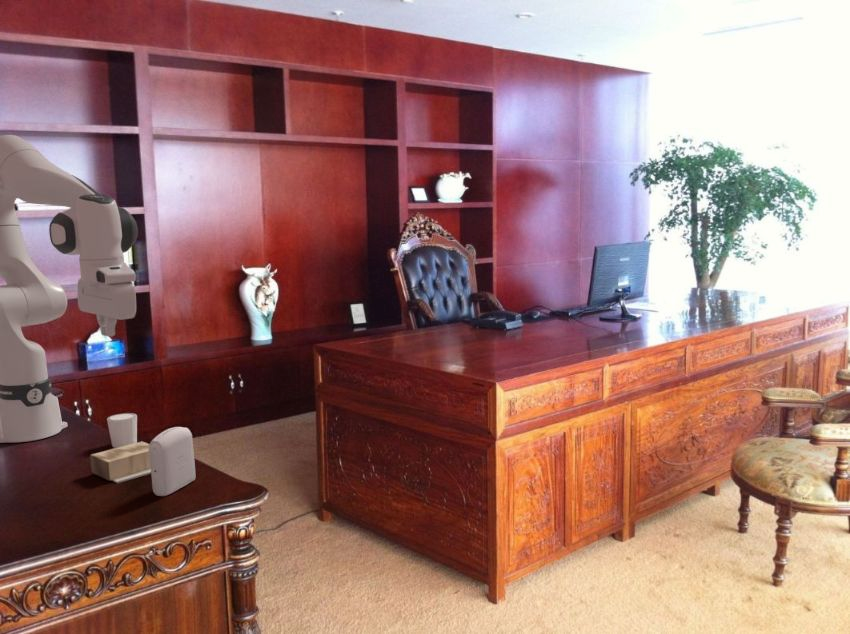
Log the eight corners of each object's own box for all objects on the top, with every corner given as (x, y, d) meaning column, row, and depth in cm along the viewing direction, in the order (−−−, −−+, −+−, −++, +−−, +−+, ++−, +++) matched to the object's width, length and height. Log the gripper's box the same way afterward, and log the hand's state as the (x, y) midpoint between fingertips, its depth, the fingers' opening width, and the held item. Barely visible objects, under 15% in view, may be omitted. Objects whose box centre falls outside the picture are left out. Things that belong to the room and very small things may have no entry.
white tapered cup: (115, 450, 192) (112, 422, 191) (105, 444, 197) (102, 416, 196) (144, 444, 196) (141, 416, 195) (133, 438, 201) (130, 411, 200)
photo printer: (167, 497, 161) (161, 437, 159) (149, 495, 162) (144, 436, 160) (199, 480, 170) (194, 423, 168) (182, 478, 172) (177, 421, 170)
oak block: (90, 454, 175) (141, 441, 184) (91, 472, 176) (143, 458, 184) (106, 462, 170) (159, 448, 178) (108, 480, 170) (161, 465, 179)
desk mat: (92, 471, 178) (91, 469, 178) (147, 455, 187) (146, 454, 187) (117, 483, 170) (117, 481, 170) (173, 466, 179) (173, 465, 179)
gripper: (67, 270, 177) (72, 332, 179) (110, 276, 163) (115, 343, 165) (95, 267, 181) (100, 328, 183) (139, 273, 167) (144, 339, 169)
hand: (108, 335), depth 174 cm, fingers closed
